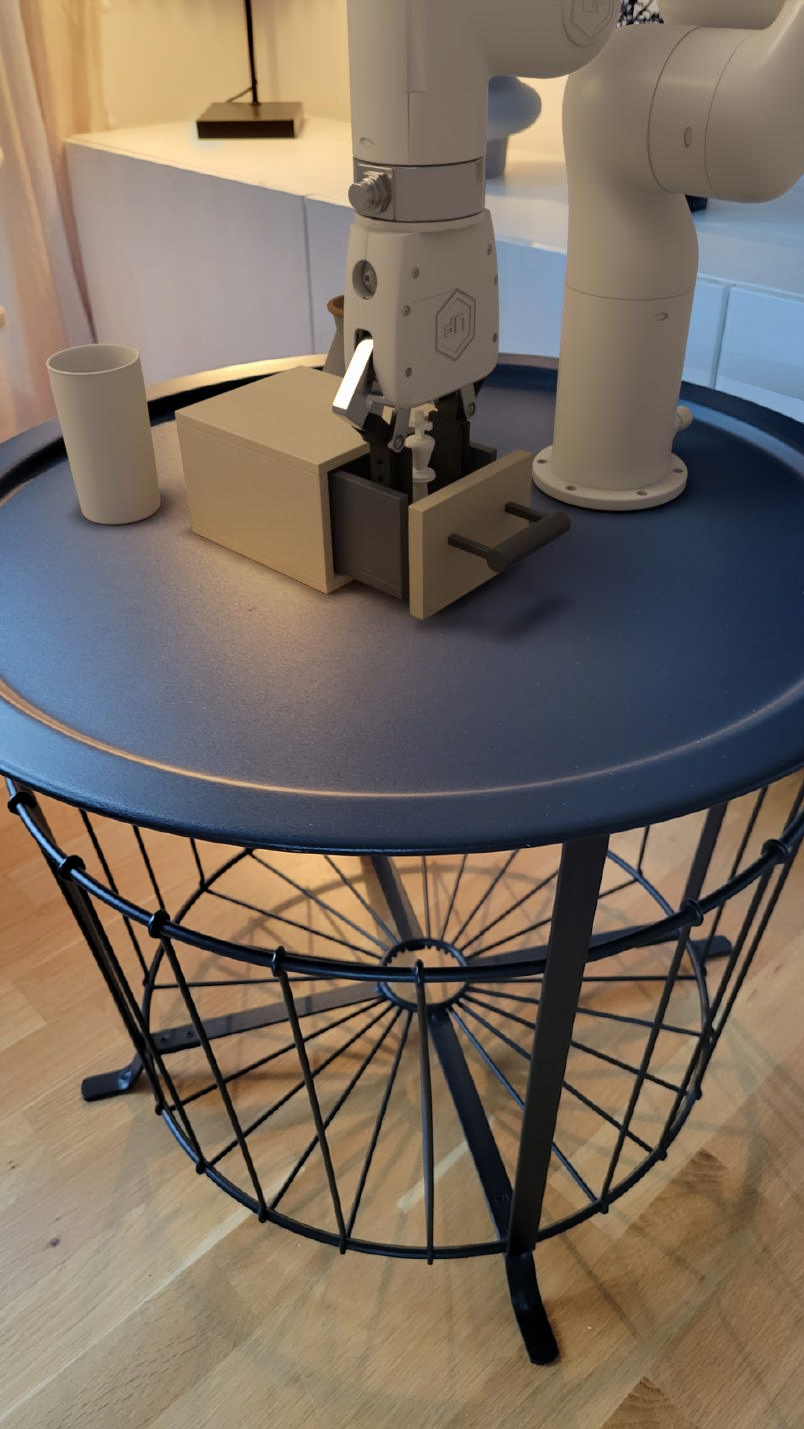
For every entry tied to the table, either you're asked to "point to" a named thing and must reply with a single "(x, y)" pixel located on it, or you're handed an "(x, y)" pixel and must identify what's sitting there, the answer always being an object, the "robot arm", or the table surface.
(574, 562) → the table surface
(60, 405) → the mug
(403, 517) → the drawer
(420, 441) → the chess piece
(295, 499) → the cabinet
